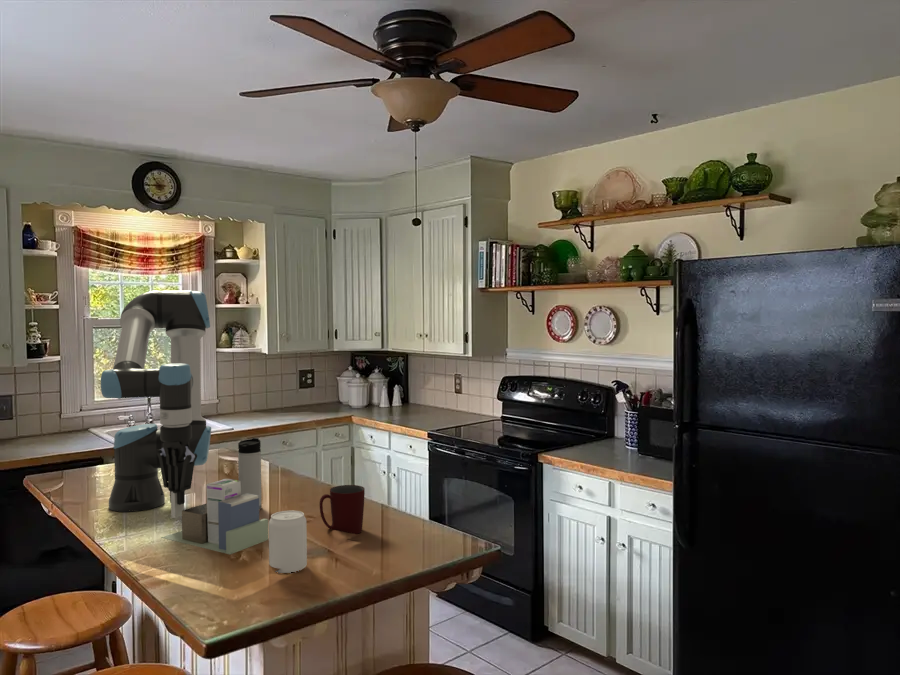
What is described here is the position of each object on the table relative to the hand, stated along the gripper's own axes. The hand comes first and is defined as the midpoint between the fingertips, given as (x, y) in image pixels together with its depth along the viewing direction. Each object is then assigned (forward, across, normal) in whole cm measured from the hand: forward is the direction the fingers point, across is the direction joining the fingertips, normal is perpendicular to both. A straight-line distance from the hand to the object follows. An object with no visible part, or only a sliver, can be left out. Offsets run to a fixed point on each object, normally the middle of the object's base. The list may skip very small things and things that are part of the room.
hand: (177, 516), depth 180 cm
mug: (+5, +36, +22) cm, 42 cm away
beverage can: (+4, +42, -4) cm, 42 cm away
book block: (+3, +23, -1) cm, 23 cm away
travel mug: (+5, -1, +26) cm, 27 cm away
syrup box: (+3, +18, -1) cm, 19 cm away
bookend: (+3, +12, -1) cm, 12 cm away
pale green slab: (+4, +15, -1) cm, 15 cm away
